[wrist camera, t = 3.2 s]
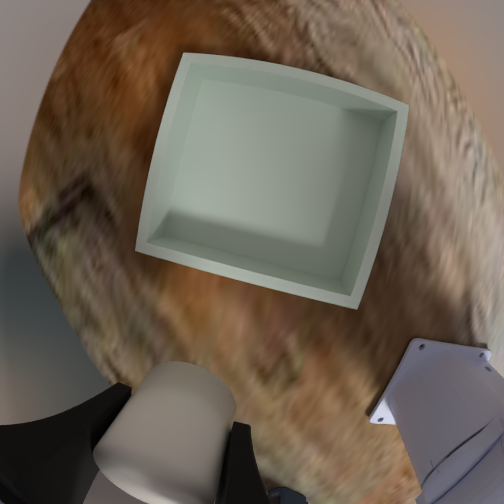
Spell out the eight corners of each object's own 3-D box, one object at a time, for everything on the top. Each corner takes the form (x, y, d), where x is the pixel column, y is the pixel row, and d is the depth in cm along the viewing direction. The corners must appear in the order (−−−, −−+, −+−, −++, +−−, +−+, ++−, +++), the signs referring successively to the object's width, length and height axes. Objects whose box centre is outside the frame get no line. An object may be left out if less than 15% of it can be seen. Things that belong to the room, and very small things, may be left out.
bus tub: (389, 118, 14) (409, 105, 12) (345, 290, 17) (357, 309, 14) (198, 72, 15) (183, 52, 12) (157, 241, 17) (135, 250, 14)
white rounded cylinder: (245, 378, 11) (225, 475, 6) (225, 440, 12) (206, 520, 7) (145, 347, 11) (84, 422, 6) (142, 414, 12) (101, 483, 7)
